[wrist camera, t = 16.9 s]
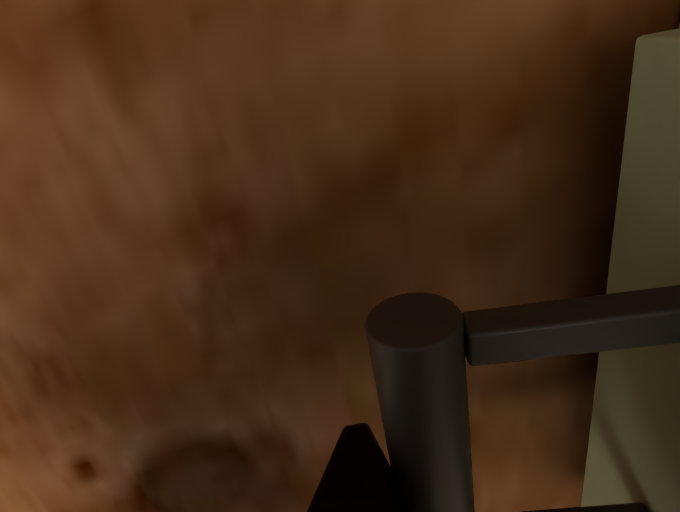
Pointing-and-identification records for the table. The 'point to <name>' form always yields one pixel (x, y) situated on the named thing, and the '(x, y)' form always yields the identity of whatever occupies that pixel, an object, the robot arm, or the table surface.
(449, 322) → the drawer
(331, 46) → the table surface
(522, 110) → the table surface
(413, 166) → the table surface
